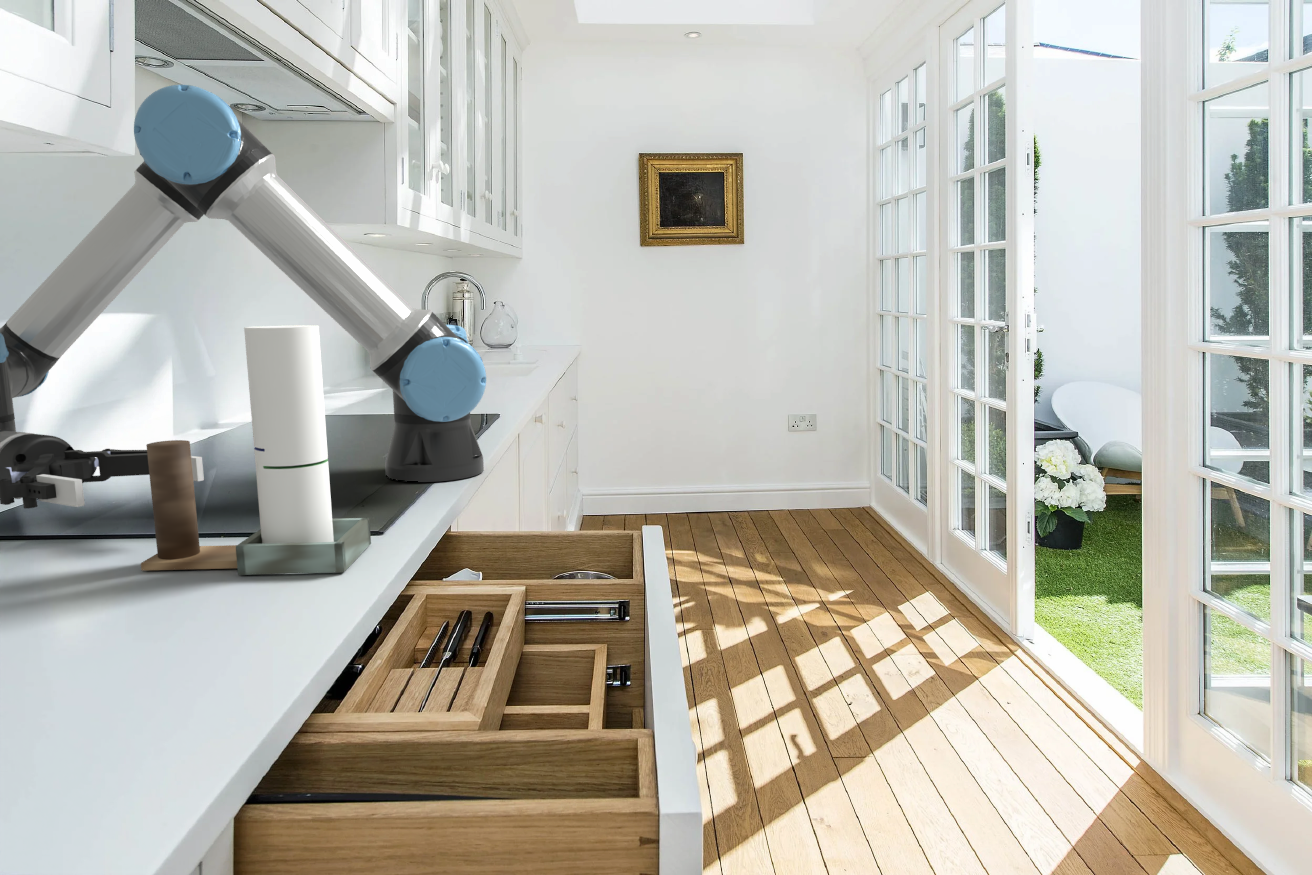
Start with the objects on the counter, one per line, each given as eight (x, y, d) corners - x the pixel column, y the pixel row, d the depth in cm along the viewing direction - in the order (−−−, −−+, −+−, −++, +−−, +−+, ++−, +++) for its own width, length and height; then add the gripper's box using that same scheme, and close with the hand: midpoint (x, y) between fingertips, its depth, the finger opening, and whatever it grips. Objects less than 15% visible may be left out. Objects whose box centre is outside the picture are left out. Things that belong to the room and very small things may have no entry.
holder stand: (129, 577, 91) (116, 452, 89) (179, 547, 101) (168, 435, 99) (344, 572, 92) (335, 448, 90) (371, 543, 102) (364, 432, 100)
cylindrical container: (310, 547, 102) (294, 324, 98) (348, 557, 98) (332, 325, 94) (250, 562, 96) (230, 327, 92) (287, 574, 92) (268, 328, 88)
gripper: (132, 476, 118) (244, 491, 109) (-92, 520, 96) (24, 543, 87) (126, 419, 117) (239, 429, 107) (-102, 450, 95) (14, 466, 85)
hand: (143, 480), depth 97 cm, fingers open, 13 cm apart
